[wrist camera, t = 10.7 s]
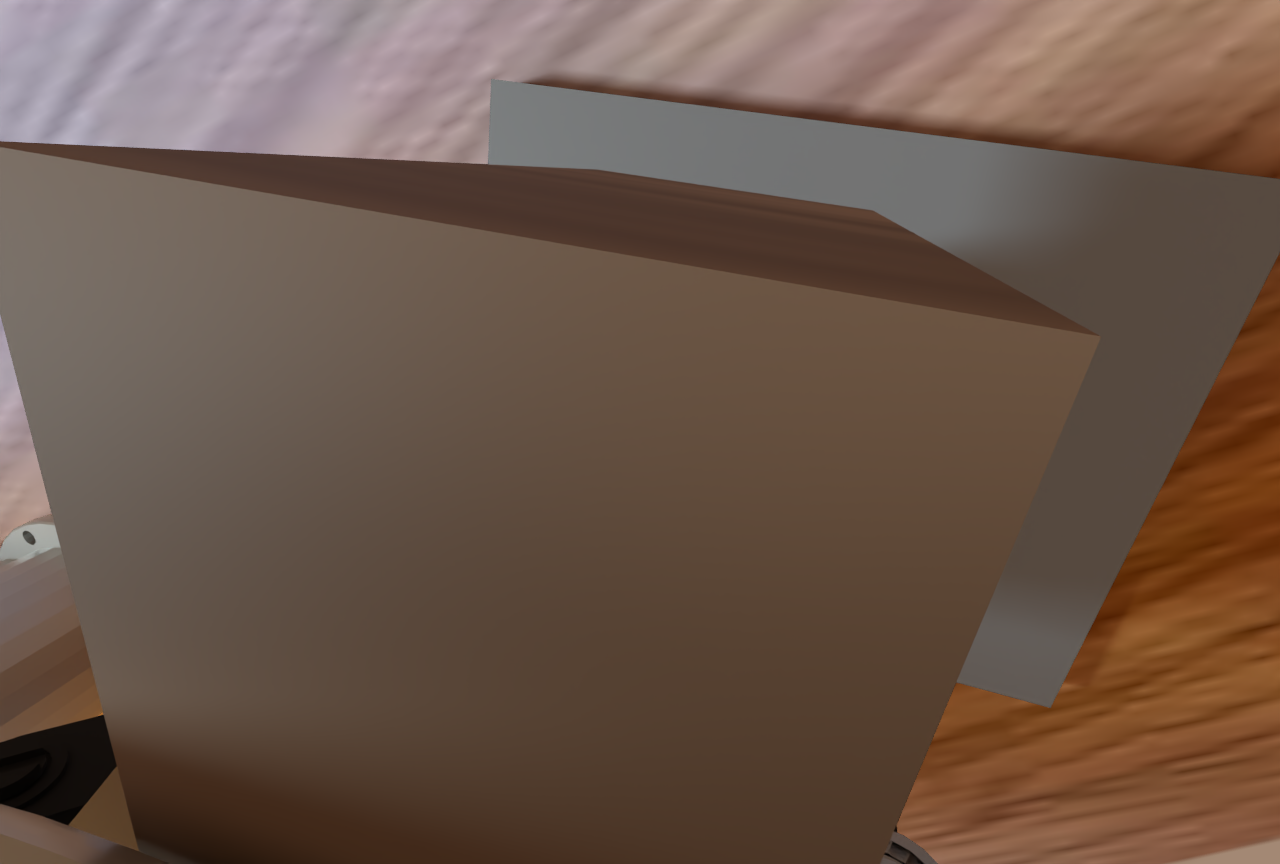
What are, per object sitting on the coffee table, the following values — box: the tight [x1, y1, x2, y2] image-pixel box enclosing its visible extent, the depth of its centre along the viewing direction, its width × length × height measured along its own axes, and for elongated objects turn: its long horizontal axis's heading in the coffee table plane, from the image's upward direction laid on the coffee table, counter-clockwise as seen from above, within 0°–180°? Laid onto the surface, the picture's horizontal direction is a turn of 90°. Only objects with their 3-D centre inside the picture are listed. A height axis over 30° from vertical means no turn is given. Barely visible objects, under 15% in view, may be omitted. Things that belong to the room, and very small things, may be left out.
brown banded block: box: [0, 141, 1101, 864], centre depth 10 cm, size 14×5×10 cm, turn 172°
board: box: [488, 79, 1280, 708], centre depth 23 cm, size 23×18×2 cm
